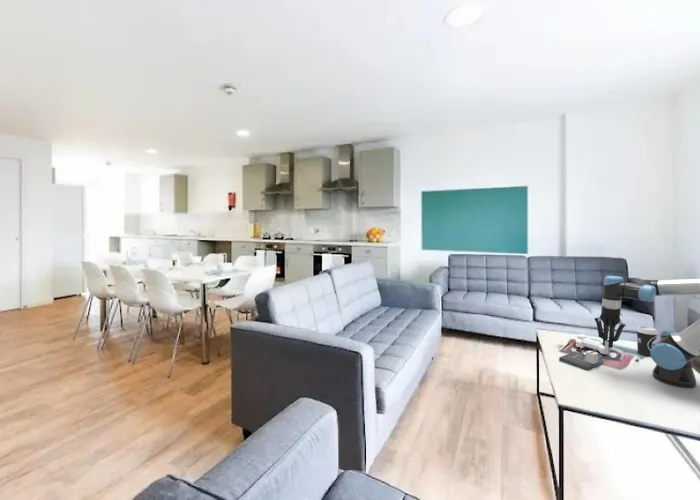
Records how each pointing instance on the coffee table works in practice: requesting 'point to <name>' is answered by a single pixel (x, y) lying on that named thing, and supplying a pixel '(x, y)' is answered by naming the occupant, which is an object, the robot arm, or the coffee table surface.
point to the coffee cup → (646, 339)
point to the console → (579, 360)
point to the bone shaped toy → (589, 343)
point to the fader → (591, 357)
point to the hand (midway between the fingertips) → (606, 353)
